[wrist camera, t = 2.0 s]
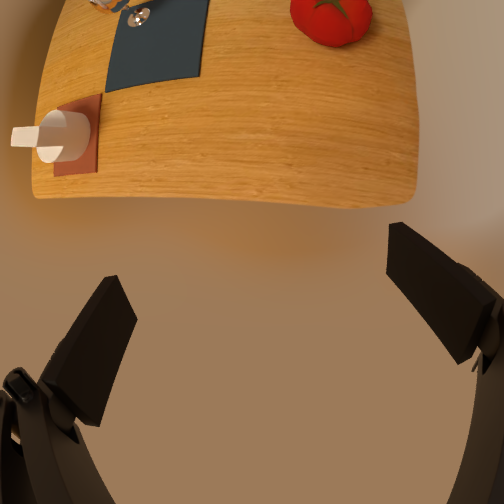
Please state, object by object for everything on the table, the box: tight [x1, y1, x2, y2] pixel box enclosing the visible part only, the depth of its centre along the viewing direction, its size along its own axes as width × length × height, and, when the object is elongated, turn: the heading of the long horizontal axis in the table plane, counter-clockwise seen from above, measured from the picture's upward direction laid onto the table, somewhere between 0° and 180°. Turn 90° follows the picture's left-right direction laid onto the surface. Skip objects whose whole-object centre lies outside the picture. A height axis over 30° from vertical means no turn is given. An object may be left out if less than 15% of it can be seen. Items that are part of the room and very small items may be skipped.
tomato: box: [290, 0, 373, 47], centre depth 23 cm, size 11×12×9 cm
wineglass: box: [88, 0, 150, 27], centre depth 23 cm, size 6×6×12 cm
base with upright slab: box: [11, 110, 90, 163], centre depth 31 cm, size 9×9×12 cm
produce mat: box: [54, 94, 102, 177], centre depth 37 cm, size 14×12×1 cm
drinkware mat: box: [105, 0, 209, 93], centre depth 30 cm, size 18×17×1 cm
